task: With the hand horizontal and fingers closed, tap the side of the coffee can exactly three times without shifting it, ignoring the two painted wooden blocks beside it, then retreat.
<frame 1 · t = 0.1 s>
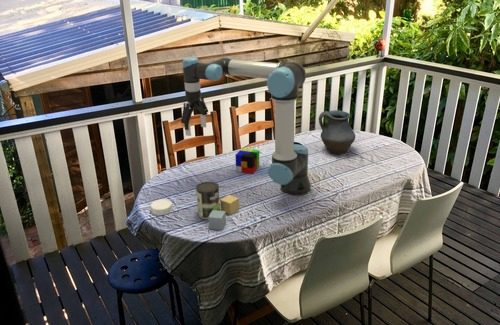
hand: (196, 131, 227), 28 cm above the table, tool pointing down, fingers open, 13 cm apart
coffee can: (209, 214, 208), on the table
pitcher: (335, 151, 270), on the table
slate block: (217, 225, 198), on the table
puzzle toy: (247, 169, 251), on the table
ochre block: (230, 210, 210), on the table
cream disc: (162, 210, 212), on the table
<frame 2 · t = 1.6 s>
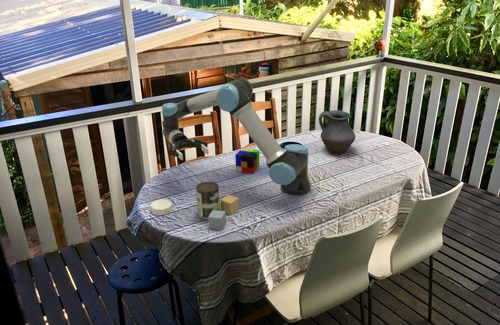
hand: (195, 154, 207), 25 cm above the table, tool horizontal, fingers open, 12 cm apart
nothing on the table moved.
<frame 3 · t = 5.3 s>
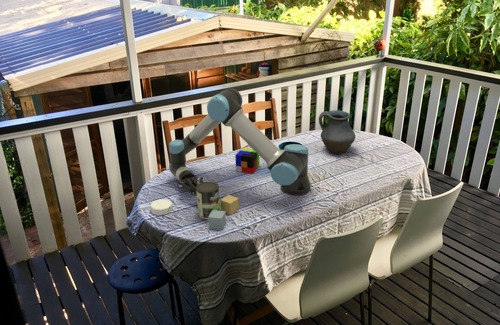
hand: (203, 196, 209), 7 cm above the table, tool horizontal, fingers closed
coffee can: (209, 214, 208), on the table, touching gripper
everything else where it was.
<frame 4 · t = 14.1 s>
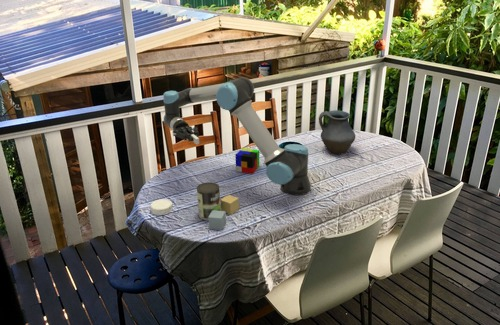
hand: (197, 141, 209), 30 cm above the table, tool horizontal, fingers closed
coffee can: (210, 214, 207), on the table
everything else where it was.
at the end: coffee can moved 0.8 cm from its start; coffee can tilted 0°; ochre block moved 0.1 cm from its start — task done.
